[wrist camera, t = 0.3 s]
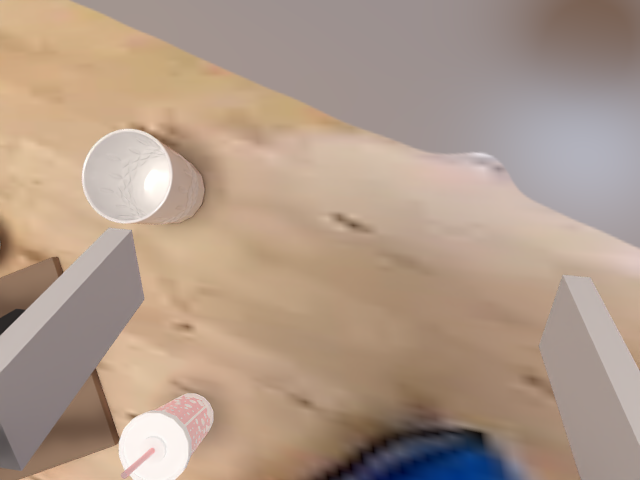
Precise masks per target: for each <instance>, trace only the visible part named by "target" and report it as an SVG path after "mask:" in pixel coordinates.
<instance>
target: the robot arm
mask: <svg viewBox="0 0 640 480" xmlns="http://www.w3.org/2000/svg"><path fill="white" fill-rule="evenodd" d="M143 301H144V294H143V289H142V283H141V278H140V273H139V267H138V262H137V256H136V251H135V246H134V240H133V235H132V230H126V229H116V228H108V229H107V230H106V231H105V232H104V233H103V234H102V235H101V236H100V237H99V238H98V239H97V240H96V241H95V242H94V243H93V244H92V245H91V246H90V247H89V248H88V249H87V250H86V251H85V252H84V253H83V254H82V255H81V256H80V257H79V258H78V259H77V260H76V261H75V262H74V263H73V264H72V265H71V266H70V267H69V268H68V269H67V270H66V271H65V272H64V273H63V274H62V275H61V276H60V277H59V278H58V279H57V280H56V281H55V282H54V283H53V284H52V285H51V286H50V287H49V288H48V289H47V290H46V291H45V292H44V293H43V294H42V295H41V296H40V297H39V298H38V299H37V300H36V301H35V302H34V303H33V304H32V305H31V306H30V307H29V308H28V309H27V310H23V309H15V310H13V311H11V312H10V313H8V314H6V315H4V316H3V317H1V318H0V468H6V469H12V470H18V471H22V470H23V469H24V467H25V466H26V464H27V463H28V462H29V460H30V459H31V457H32V456H33V455H34V453H35V452H36V450H37V449H38V448H39V446H40V445H41V443H42V442H43V441H44V439H45V438H46V436H47V435H48V434H49V432H50V431H51V429H52V428H53V427H54V425H55V424H56V422H57V421H58V420H59V418H60V417H61V415H62V414H63V413H64V411H65V410H66V408H67V407H68V406H69V404H70V403H71V401H72V400H73V399H74V397H75V396H76V394H77V393H78V392H79V390H80V389H81V387H82V386H83V385H84V383H85V382H86V380H87V379H88V378H89V376H90V375H91V373H92V372H93V371H94V369H95V368H96V366H97V365H98V364H99V362H100V361H101V359H102V358H103V357H104V355H105V354H106V352H107V351H108V350H109V348H110V347H111V345H112V344H113V343H114V341H115V340H116V338H117V337H118V336H119V334H120V333H121V331H122V330H123V329H124V327H125V326H126V324H127V323H128V322H129V320H130V319H131V317H132V316H133V315H134V313H135V312H136V310H137V309H138V308H139V306H140V305H141V303H142V302H143ZM539 348H540V351H541V355H542V358H543V361H544V364H545V367H546V370H547V374H548V377H549V380H550V383H551V386H552V390H553V393H554V396H555V399H556V402H557V405H558V409H559V412H560V415H561V418H562V421H563V424H564V428H565V431H566V434H567V437H568V440H569V443H570V447H571V450H572V453H573V456H574V459H575V462H576V466H577V469H578V472H579V475H580V478H581V480H640V371H639V369H638V367H637V365H636V363H635V361H634V359H633V357H632V356H631V354H630V352H629V350H628V348H627V346H626V344H625V342H624V340H623V338H622V337H621V335H620V333H619V331H618V329H617V327H616V325H615V323H614V321H613V319H612V318H611V316H610V314H609V312H608V310H607V308H606V306H605V304H604V302H603V300H602V299H601V297H600V295H599V293H598V291H597V289H596V287H595V285H594V283H593V281H592V280H591V278H589V277H579V276H570V275H563V276H562V279H561V282H560V284H559V287H558V290H557V293H556V296H555V299H554V302H553V305H552V308H551V311H550V314H549V317H548V320H547V323H546V326H545V329H544V332H543V335H542V338H541V341H540V344H539Z"/></svg>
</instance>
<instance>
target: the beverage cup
mask: <svg viewBox="0 0 640 480" xmlns="http://www.w3.org/2000/svg"><path fill="white" fill-rule="evenodd" d="M212 424H213V410H212V407H211V405H210V403H209V402H208V401H207V400H206V399H205V398H204V397H203V396H200V395H198V394H196V393H187V394H184V395H182V396H180V397H178V398H176V399H174V400H172V401H170V402H168V403H167V404H165V405H163V406H161V407H159V408H157V409H156V410H151V411H148V412H146V413H143V414H141V415H139V416H137V417H135V418H134V419H133V420H132V421H131V422H130V423H129V424H128V425H127V426H126V427H125V428H124V430H123V433H122V435H121V438H120V440H119V457H120V460H121V462H122V465H123V468H124V470H125V471H124V472H123V473H122V474H121V477H122V478H123V479H125V478H127V477H128V476H129V475H130V476H131V477H132V479H133V480H175V479H176V478H177V477H178V476H179V475H180V474H181V473H182V472H183V471H184V470H185V468H186V467H187V464H188V462H189V459H190V457H191V455H192V454H193V452H194V451H195V450H196V448H197V447H198V446H199V444H200V443H201V441H202V440H203V439H204V437H205V436H206V434H207V433H208V432H209V430H210V429H211V426H212Z"/></svg>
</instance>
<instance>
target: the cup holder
mask: <svg viewBox="0 0 640 480" xmlns="http://www.w3.org/2000/svg"><path fill="white" fill-rule="evenodd" d="M62 274H63V271H62V268H61V265H60V262H59V259H58V257H52V258H49V259H47V260H44V261H42V262H39V263H37V264H34V265H32V266H29V267H27V268H24V269H21V270H19V271H16V272H14V273H11V274H9V275H6V276H4V277H1V278H0V318H1V317H3V316H4V315H6V314H8V313H10V312H11V311H13V310H15V309H23V310H27V309H28V308H29V307H30V306H31V305H32V304H33V303H34V302H35V301H36V300H37V299H38V298H39V297H40V296H41V295H42V294H43V293H44V292H45V291H46V290H47V289H48V288H49V287H50V286H51V285H52V284H53V283H54V282H55V281H56V280H57V279H58V278H59V277H60V276H61V275H62ZM117 443H119V437H118V434H117V431H116V428H115V425H114V422H113V419H112V416H111V413H110V410H109V407H108V405H107V402H106V399H105V396H104V393H103V390H102V387H101V384H100V381H99V378H98V375H97V372H96V369H94V371H93V372H92V373H91V375H90V376H89V378H88V379H87V380H86V382H85V383H84V385H83V386H82V387H81V389H80V390H79V392H78V393H77V394H76V396H75V397H74V399H73V400H72V401H71V403H70V404H69V406H68V407H67V408H66V410H65V411H64V413H63V414H62V415H61V417H60V418H59V420H58V421H57V422H56V424H55V425H54V427H53V428H52V429H51V431H50V432H49V434H48V435H47V436H46V438H45V439H44V441H43V442H42V443H41V445H40V446H39V448H38V449H37V450H36V452H35V453H34V455H33V456H32V457H31V459H30V460H29V462H28V463H27V464H26V466H25V467H24V469H23V470H22V471H18V470H12V469H6V468H0V480H19V479H22V478H25V477H27V476H30V475H33V474H36V473H39V472H41V471H44V470H47V469H50V468H53V467H55V466H58V465H61V464H64V463H67V462H69V461H72V460H75V459H78V458H81V457H83V456H86V455H89V454H92V453H95V452H97V451H100V450H103V449H106V448H109V447H112V446H114V445H116V444H117Z"/></svg>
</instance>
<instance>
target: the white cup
mask: <svg viewBox="0 0 640 480" xmlns="http://www.w3.org/2000/svg"><path fill="white" fill-rule="evenodd" d="M82 185H83V190H84V193H85V196H86V198H87V200H88V202H89V204H90V205H91V206H92V208H93V209H94V210H95V211H96V212H97V213H98V214H100V215H101V216H103V217H104V218H106V219H108V220H110V221H113V222H117V223H127V224H155V225H156V224H166V223H181V222H183V221H185V220H187V219H189V218H191V217H192V216H193V215H194V214H195V213H196V211H197V210H198V209H199V208H200V206H201V205H202V201H203V197H204V192H205V188H204V184H203V179H202V175H201V174H200V173H199V172H198V170H197V169H196V168H195V167H194V165H193V164H192V163H190V162H188V161H187V160H186V159H185V158H184V157H182V156H181V155H180V154H178V153H177V152H176V151H174V150H173V149H171V148H170V147H168V146H167V145H165V144H164V143H162V142H161V141H159V140H158V139H156V138H155V137H153V136H152V135H150V134H148V133H146V132H143V131H140V130H136V129H121V130H117V131H113V132H111V133H109V134H107V135H105V136H104V137H102V138H101V139H100V140H98V141H97V142H96V143H95V144H94V146H93V147H92V148H91V149H90V151H89V153H88V154H87V156H86V159H85V161H84V165H83V169H82Z"/></svg>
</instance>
